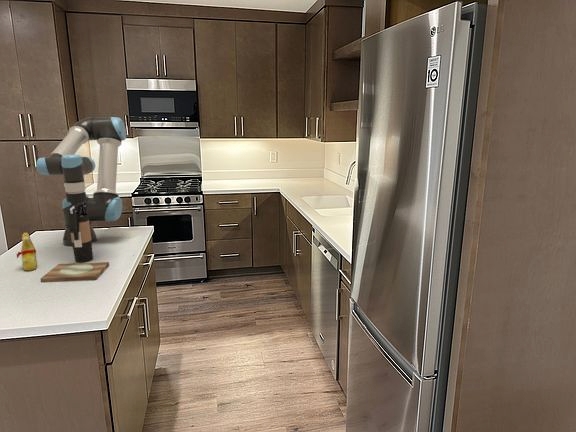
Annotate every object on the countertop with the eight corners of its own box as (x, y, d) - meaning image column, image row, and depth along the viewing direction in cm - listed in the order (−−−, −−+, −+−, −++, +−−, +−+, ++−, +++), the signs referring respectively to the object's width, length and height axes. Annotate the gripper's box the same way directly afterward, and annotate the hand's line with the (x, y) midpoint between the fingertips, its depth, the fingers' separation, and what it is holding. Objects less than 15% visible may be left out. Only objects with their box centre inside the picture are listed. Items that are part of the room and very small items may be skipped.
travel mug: (86, 263, 174) (80, 217, 169) (70, 262, 175) (64, 216, 170) (97, 257, 181) (92, 213, 176) (82, 256, 183) (76, 212, 178)
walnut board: (59, 267, 170) (58, 263, 169) (109, 265, 172) (108, 261, 171) (40, 282, 154) (40, 277, 154) (96, 279, 156) (95, 275, 156)
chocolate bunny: (38, 262, 176) (33, 228, 172) (37, 270, 166) (32, 234, 163) (19, 264, 172) (14, 230, 169) (17, 273, 163) (11, 237, 159)
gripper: (75, 188, 181) (82, 237, 186) (55, 196, 161) (63, 251, 166) (93, 187, 181) (99, 236, 187) (75, 196, 162) (82, 251, 167)
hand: (82, 243), depth 176 cm, fingers closed on travel mug, 8 cm apart
